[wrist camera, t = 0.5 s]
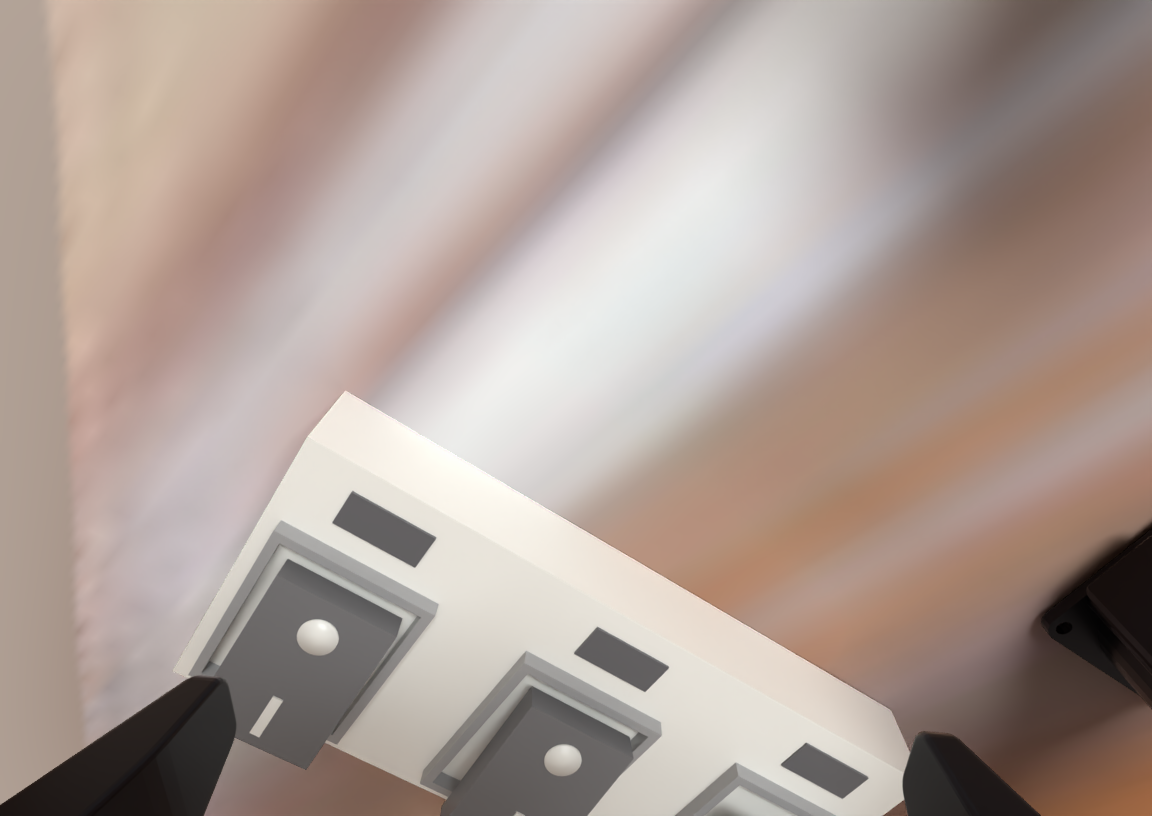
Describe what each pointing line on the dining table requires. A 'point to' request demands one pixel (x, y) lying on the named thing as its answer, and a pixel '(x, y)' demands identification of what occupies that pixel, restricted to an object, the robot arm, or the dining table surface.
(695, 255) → the dining table surface
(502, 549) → the power strip
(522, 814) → the rocker middle
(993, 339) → the dining table surface
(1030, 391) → the dining table surface
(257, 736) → the rocker
